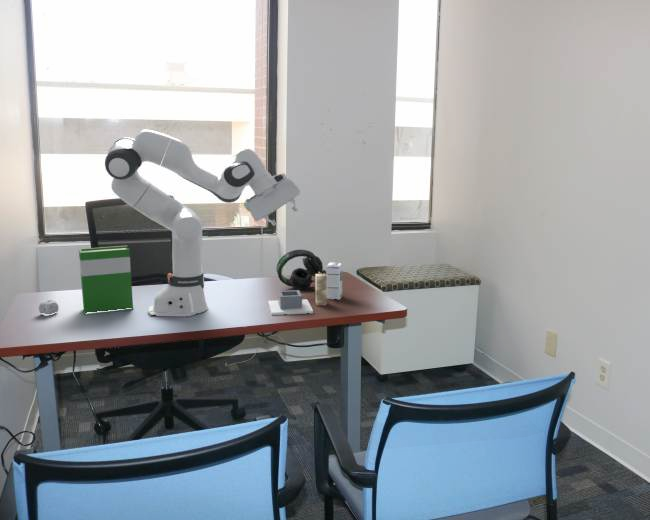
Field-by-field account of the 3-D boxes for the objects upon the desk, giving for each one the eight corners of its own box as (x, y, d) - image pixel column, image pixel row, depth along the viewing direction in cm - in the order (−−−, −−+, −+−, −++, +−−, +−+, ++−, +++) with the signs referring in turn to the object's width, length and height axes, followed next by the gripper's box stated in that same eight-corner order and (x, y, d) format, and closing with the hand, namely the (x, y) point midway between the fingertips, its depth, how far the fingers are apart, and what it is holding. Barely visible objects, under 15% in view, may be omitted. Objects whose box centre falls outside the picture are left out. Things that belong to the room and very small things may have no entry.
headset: (322, 304, 281) (271, 282, 265) (314, 284, 291) (265, 262, 275) (347, 276, 275) (296, 252, 258) (338, 257, 285) (288, 233, 269)
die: (59, 313, 237) (58, 300, 236) (48, 317, 233) (47, 304, 232) (50, 311, 239) (48, 299, 238) (39, 315, 235) (37, 302, 234)
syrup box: (340, 300, 257) (340, 265, 254) (325, 299, 258) (326, 265, 255) (342, 296, 263) (342, 262, 260) (328, 295, 264) (328, 262, 261)
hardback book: (130, 304, 249) (126, 245, 244) (133, 309, 243) (129, 249, 238) (83, 309, 242) (78, 249, 237) (84, 314, 236) (79, 252, 231)
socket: (271, 315, 237) (271, 300, 235) (268, 303, 252) (267, 288, 251) (313, 313, 239) (313, 298, 238) (307, 301, 255) (307, 287, 253)
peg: (316, 305, 250) (316, 276, 247) (315, 302, 253) (315, 274, 251) (326, 305, 250) (326, 276, 248) (324, 302, 254) (325, 273, 251)
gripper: (241, 200, 229) (261, 232, 229) (287, 171, 231) (308, 201, 231) (242, 203, 235) (262, 234, 235) (287, 174, 238) (307, 204, 237)
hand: (285, 218), depth 233 cm, fingers open, 8 cm apart
